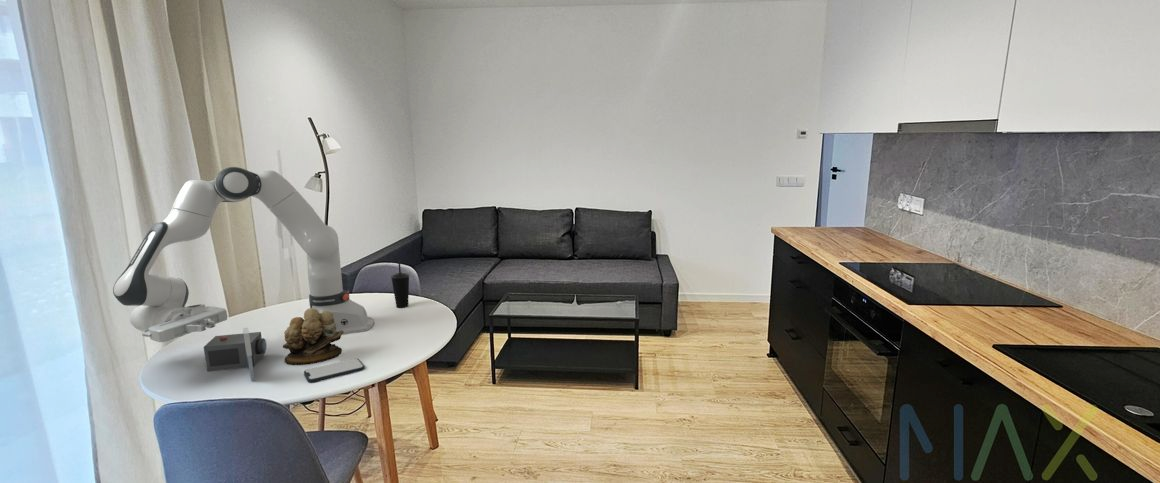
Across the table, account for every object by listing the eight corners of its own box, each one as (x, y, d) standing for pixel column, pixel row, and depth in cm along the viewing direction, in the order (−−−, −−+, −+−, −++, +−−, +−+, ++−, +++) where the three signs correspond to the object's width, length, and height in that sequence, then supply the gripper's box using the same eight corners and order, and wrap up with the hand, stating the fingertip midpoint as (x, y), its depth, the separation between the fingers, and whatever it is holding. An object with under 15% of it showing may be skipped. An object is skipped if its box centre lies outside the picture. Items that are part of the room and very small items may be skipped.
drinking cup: (405, 309, 217) (402, 263, 213) (389, 308, 218) (385, 262, 214) (415, 304, 224) (412, 259, 220) (399, 303, 226) (395, 258, 222)
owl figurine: (343, 345, 179) (339, 298, 176) (346, 358, 169) (342, 308, 166) (284, 355, 171) (278, 306, 168) (283, 369, 161) (277, 317, 157)
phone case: (358, 362, 167) (303, 374, 158) (358, 357, 167) (302, 369, 157) (365, 371, 160) (308, 385, 151) (365, 366, 160) (308, 380, 150)
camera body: (270, 353, 172) (267, 329, 171) (261, 365, 163) (258, 340, 162) (219, 359, 168) (215, 334, 167) (207, 371, 159) (203, 345, 158)
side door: (247, 367, 162) (241, 322, 159) (252, 366, 163) (246, 321, 160) (250, 382, 152) (244, 334, 149) (255, 380, 153) (249, 333, 150)
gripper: (136, 324, 148) (169, 328, 144) (206, 302, 167) (238, 305, 163) (140, 344, 149) (173, 350, 145) (209, 320, 168) (241, 324, 164)
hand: (208, 326), depth 154 cm, fingers closed
